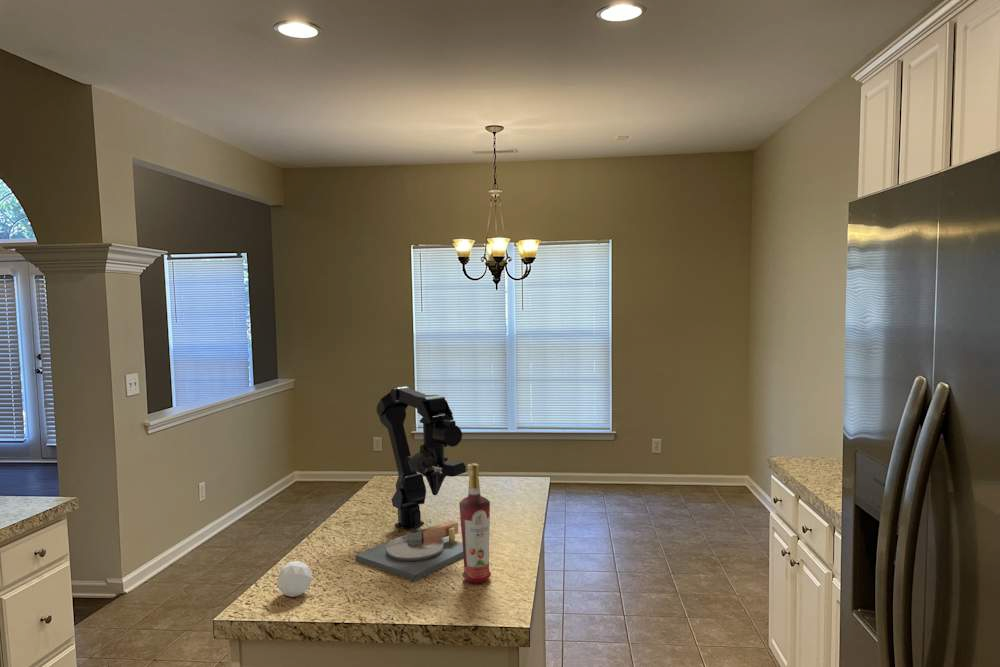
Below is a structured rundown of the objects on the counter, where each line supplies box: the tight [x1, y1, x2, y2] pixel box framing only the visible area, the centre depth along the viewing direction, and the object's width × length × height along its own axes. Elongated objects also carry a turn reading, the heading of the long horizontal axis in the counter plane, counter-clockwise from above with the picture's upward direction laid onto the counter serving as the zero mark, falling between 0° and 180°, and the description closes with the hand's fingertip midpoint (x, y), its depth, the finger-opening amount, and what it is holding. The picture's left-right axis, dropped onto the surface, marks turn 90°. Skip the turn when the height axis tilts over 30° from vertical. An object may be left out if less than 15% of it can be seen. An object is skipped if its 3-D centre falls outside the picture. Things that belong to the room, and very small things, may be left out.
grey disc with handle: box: [386, 520, 459, 561], centre depth 172 cm, size 20×15×5 cm
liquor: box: [459, 462, 492, 585], centre depth 154 cm, size 7×7×28 cm
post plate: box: [355, 527, 464, 582], centre depth 171 cm, size 22×22×6 cm
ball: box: [276, 560, 313, 598], centre depth 150 cm, size 8×8×8 cm
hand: (435, 494), depth 182 cm, fingers closed
